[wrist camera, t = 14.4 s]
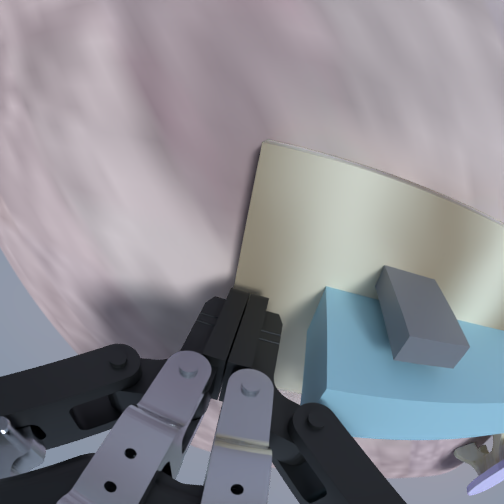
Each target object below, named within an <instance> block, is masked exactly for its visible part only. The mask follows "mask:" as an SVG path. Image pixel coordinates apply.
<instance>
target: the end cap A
mask: <svg viewBox="0 0 504 504" xmlns="http://www.w3.org/2000/svg"><path fill="white" fill-rule="evenodd" d="M375 288H376V292H377V295H378V299H379V303H380V306H381V310H382V314H383V318H384V322H385V326H386V330H387V334H388V338H389V342H390V347H391V351H392V356H393V360H395V361H402V362H408V363H415V364H421V365H429V366H436V367H444V368H452V369H453V368H454V367H455V366H456V365H457V363H458V362H459V361H460V360H461V358H462V357H463V356H464V355H465V353H466V352H467V351H468V349H469V348H470V345H469V343H468V341H467V339H466V337H465V335H464V333H463V331H462V329H461V327H460V325H459V323H458V321H457V319H456V317H455V315H454V313H453V311H452V309H451V307H450V305H449V304H448V302H447V300H446V298H445V296H444V295H443V293H442V291H441V289H440V287H439V286H438V284H437V282H436V281H435V279H431V278H428V277H424V276H421V275H418V274H414V273H411V272H407V271H404V270H400V269H397V268H393V267H390V266H386V265H384V267H383V269H382V272H381V274H380V276H379V278H378V280H377V283H376V285H375Z"/></svg>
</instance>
